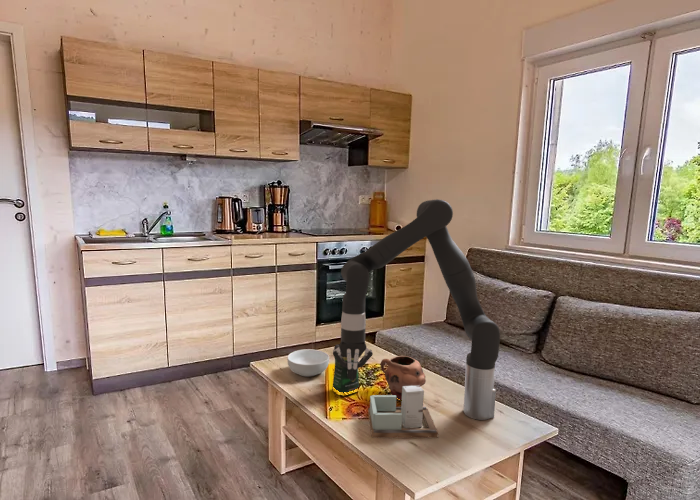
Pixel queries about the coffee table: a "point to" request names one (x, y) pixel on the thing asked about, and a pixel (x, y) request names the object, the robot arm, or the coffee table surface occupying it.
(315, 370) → the cereal bowl
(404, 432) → the board
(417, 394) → the skincare box
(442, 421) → the coffee table surface
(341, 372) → the coffee jar
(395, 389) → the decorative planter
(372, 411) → the bracket
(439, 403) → the coffee table surface
